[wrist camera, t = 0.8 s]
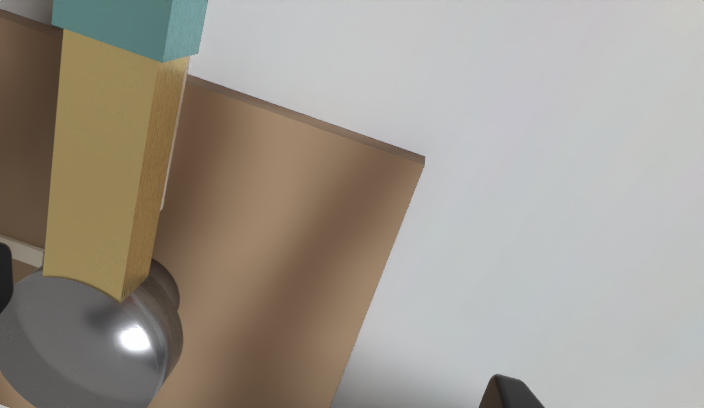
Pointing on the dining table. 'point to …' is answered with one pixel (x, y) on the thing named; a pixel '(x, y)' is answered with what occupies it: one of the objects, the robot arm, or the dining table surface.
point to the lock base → (227, 229)
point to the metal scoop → (105, 212)
